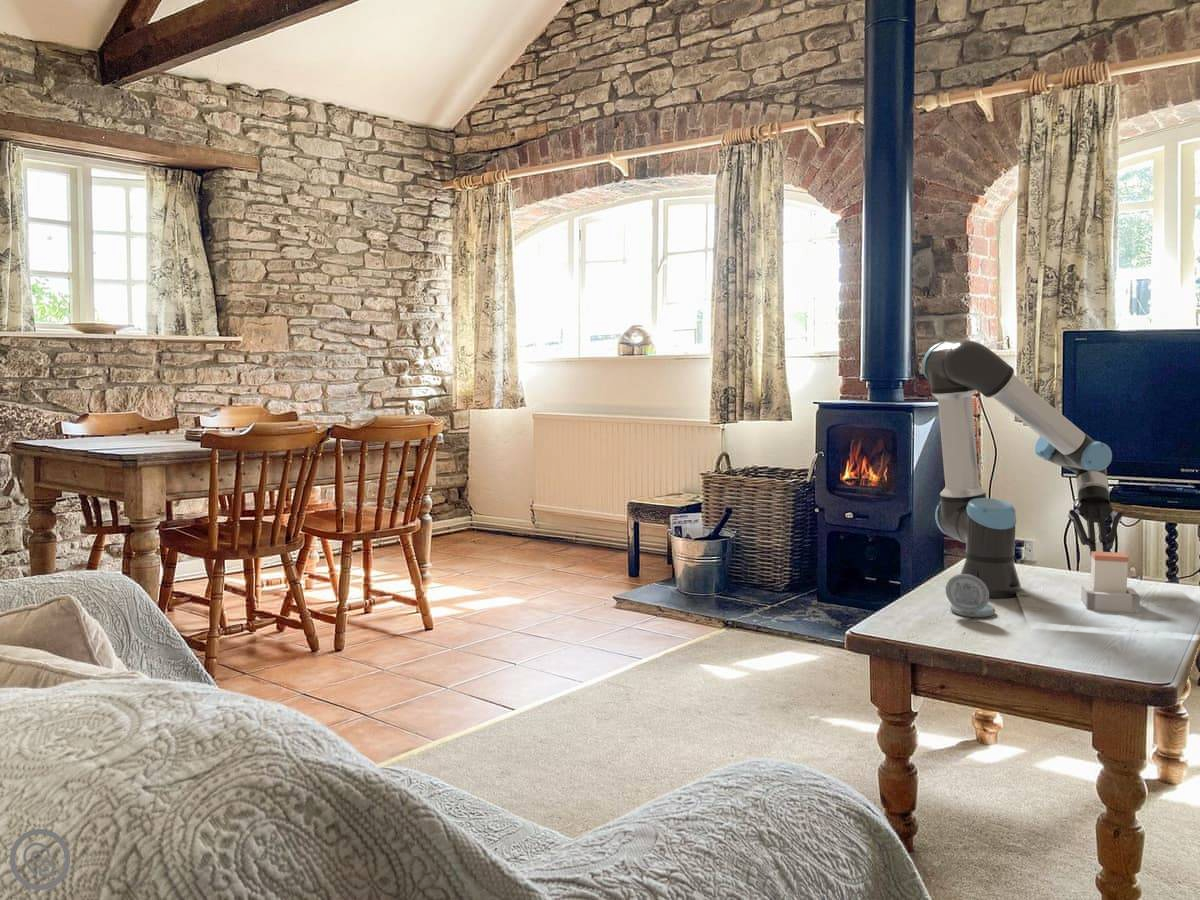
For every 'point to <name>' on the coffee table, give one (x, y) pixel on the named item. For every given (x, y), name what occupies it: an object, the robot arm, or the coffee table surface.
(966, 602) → the embossed oval plaque stand
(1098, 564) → the orange-topped white block
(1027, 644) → the coffee table surface
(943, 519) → the robot arm
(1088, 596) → the base
